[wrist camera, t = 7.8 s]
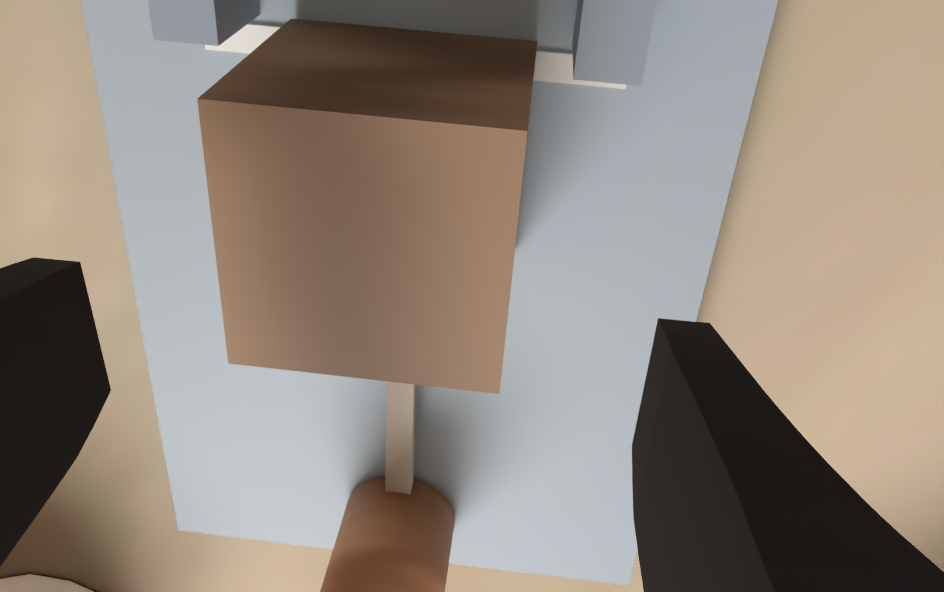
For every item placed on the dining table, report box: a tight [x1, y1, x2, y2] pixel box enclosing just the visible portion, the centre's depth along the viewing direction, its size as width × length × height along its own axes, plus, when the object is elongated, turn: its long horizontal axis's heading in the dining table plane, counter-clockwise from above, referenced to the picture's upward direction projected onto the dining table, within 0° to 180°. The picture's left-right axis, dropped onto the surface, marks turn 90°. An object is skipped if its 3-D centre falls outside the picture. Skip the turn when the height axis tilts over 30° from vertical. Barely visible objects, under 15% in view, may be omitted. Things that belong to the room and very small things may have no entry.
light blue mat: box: [81, 0, 778, 585], centre depth 17 cm, size 14×27×4 cm, turn 176°
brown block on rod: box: [197, 19, 537, 592], centre depth 18 cm, size 5×16×5 cm, turn 176°
